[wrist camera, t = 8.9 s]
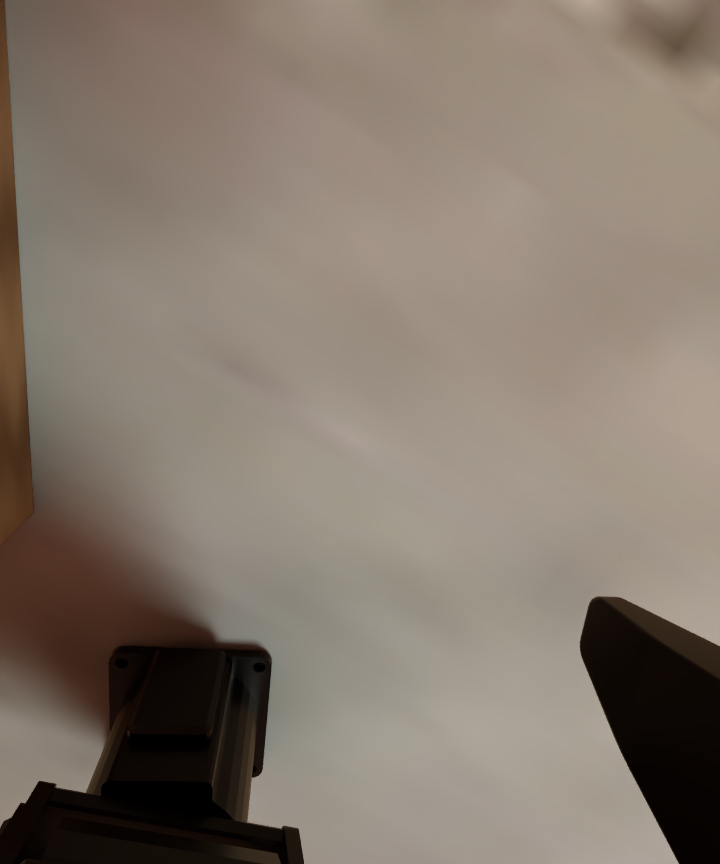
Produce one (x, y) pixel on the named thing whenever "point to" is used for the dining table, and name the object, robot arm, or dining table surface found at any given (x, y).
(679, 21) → the dining table surface
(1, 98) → the brown square tray
